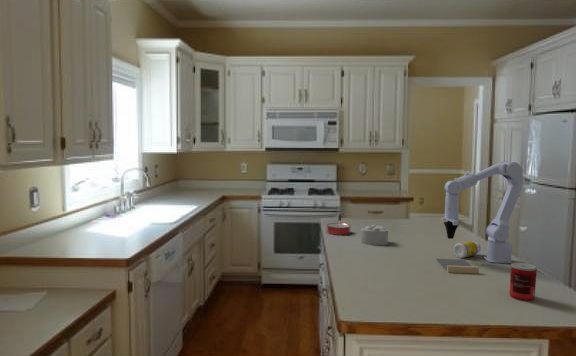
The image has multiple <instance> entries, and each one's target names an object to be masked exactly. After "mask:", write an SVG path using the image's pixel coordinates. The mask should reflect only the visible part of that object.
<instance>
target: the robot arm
mask: <svg viewBox="0 0 576 356" xmlns="http://www.w3.org/2000/svg"><path fill="white" fill-rule="evenodd" d="M523 171H524V169H523V167H522V166H521V164H520V163H518V162H516V161H508V160H503V161H500V162H497V163H495V164H493V165H491V166H488V167H487V168H484V169H483V170H480V171H479V172H476V173H472V172H466V173H464V175H462V176H460V177H454V180H448V181H447V182H446V183H445V185H444V186H443V189H444V191H445V197H444V200H445V202H444V203H445V204H444V216H442V217H441V219H442V220H444V221H443V225H444V227H445V231H446V236H447V239H449V240H451V239H453V240H454V238H455V234H456V231H457V229H458V228H459V225H460V224H459V220H460V217H459V215H460V213H459V212H460V211H459V209H460V194H461V192H462V191H464V190H467V189H470V188H473V187H474V186H476V185H477V183H478V181H481V180H484V179H487V178H490V177H491V176H494V175H501V176H502V177H504V179H505V180H506V182H507V184H508V186H507V188H506V191H505V193H504V196H503V199H502V201H501V203H500V206H499V208H498V210H497V211H498V212H497V214H496V216H495V218H493V219H492V220H491V222H490V224H488V226H487V227H486V229H485V233H486V236H487V237H488V238H487V245H486V247H487V248H486V256H483V258H484V259H485V260H486V261H487V262H489V263H500V264H501V263H502V264H503V263H504V264H512V263H513V262H512V255H513V254H512V252H513V246H512V243H511V241H508V238H509V233H510V232H509V230H510V222H509V221H510V219H511V217H512V213H513V211H514V209H515V206H516V204H517V202H518V199H519V198H520V194H521V192H522V189H523V187H524V174H523Z"/></svg>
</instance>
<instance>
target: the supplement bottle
mask: <svg viewBox="0 0 576 356" xmlns="http://www.w3.org/2000/svg"><path fill="white" fill-rule="evenodd" d="M481 251H482V245H481V244H480V243H479V242H476V241H473V240H469V241H465V242H464V241H463V242H459V243H455V245H454V247H453V253H454V255H455V256H456V257H457V258H459V259H462V258H463V259H464V258H468V257H473V256H476V255H477V254H478V253H480V252H481Z"/></svg>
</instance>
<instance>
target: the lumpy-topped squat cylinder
mask: <svg viewBox="0 0 576 356" xmlns="http://www.w3.org/2000/svg"><path fill="white" fill-rule="evenodd" d="M360 232H361V233H360V234H361V237H360V239H361V240H360V243H361V244H364V245H369V246H388V243H389V230H388V229H387V228H386V227H384V226H382V225H377V224H372V225H366V226H364V227H362V228H361V231H360Z"/></svg>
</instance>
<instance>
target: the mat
mask: <svg viewBox="0 0 576 356" xmlns="http://www.w3.org/2000/svg"><path fill="white" fill-rule="evenodd" d="M436 261H437V262H438V263H439V265H440V266H443V267H442V268H443V269H444V270H445V271H446V273H455V274H457V273H458V274H479V273H480V266H472V265H471V264H470V263H469V262H467V261H466V260H465V259H460V258H459V259H458V258H457V259H456V258H455V259H454V258H451V259H450V258H436Z"/></svg>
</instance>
